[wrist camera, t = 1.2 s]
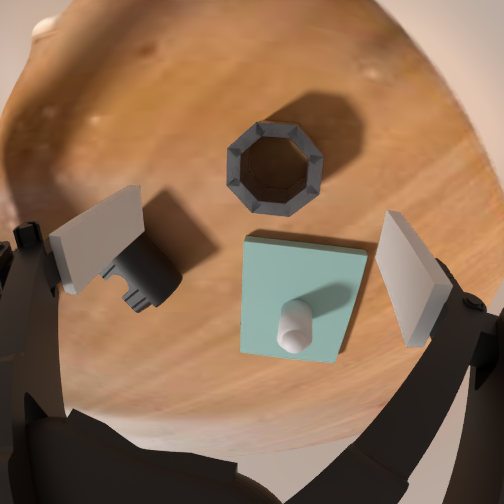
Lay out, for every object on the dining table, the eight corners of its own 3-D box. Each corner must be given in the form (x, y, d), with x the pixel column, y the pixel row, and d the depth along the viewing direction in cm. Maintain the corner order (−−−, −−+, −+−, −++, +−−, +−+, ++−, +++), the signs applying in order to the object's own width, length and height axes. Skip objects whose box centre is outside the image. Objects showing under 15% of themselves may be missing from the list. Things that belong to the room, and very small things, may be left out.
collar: (236, 195, 32) (226, 210, 27) (239, 118, 28) (228, 121, 23) (314, 203, 31) (315, 220, 26) (322, 125, 27) (326, 128, 22)
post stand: (242, 344, 43) (230, 387, 35) (246, 235, 34) (230, 272, 27) (334, 355, 41) (335, 398, 34) (365, 249, 32) (379, 289, 25)
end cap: (191, 267, 37) (172, 297, 32) (159, 290, 40) (138, 320, 34) (139, 209, 35) (110, 231, 29) (112, 239, 38) (84, 262, 32)
